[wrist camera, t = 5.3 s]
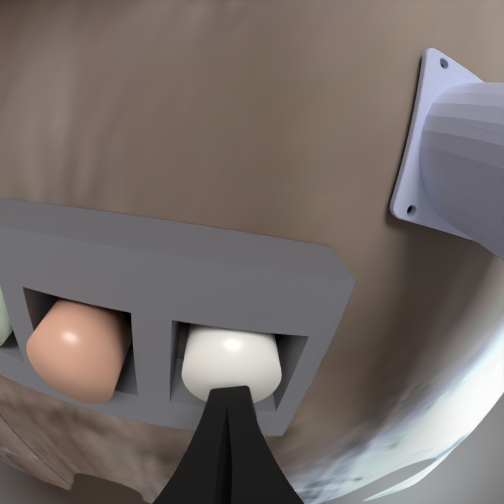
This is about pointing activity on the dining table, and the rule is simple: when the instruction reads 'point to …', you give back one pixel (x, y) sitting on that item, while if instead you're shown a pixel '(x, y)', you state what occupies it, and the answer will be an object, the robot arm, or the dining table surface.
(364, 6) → the dining table surface
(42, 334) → the terracotta button
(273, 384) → the cream button
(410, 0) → the dining table surface
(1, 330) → the sage button
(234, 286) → the button panel
